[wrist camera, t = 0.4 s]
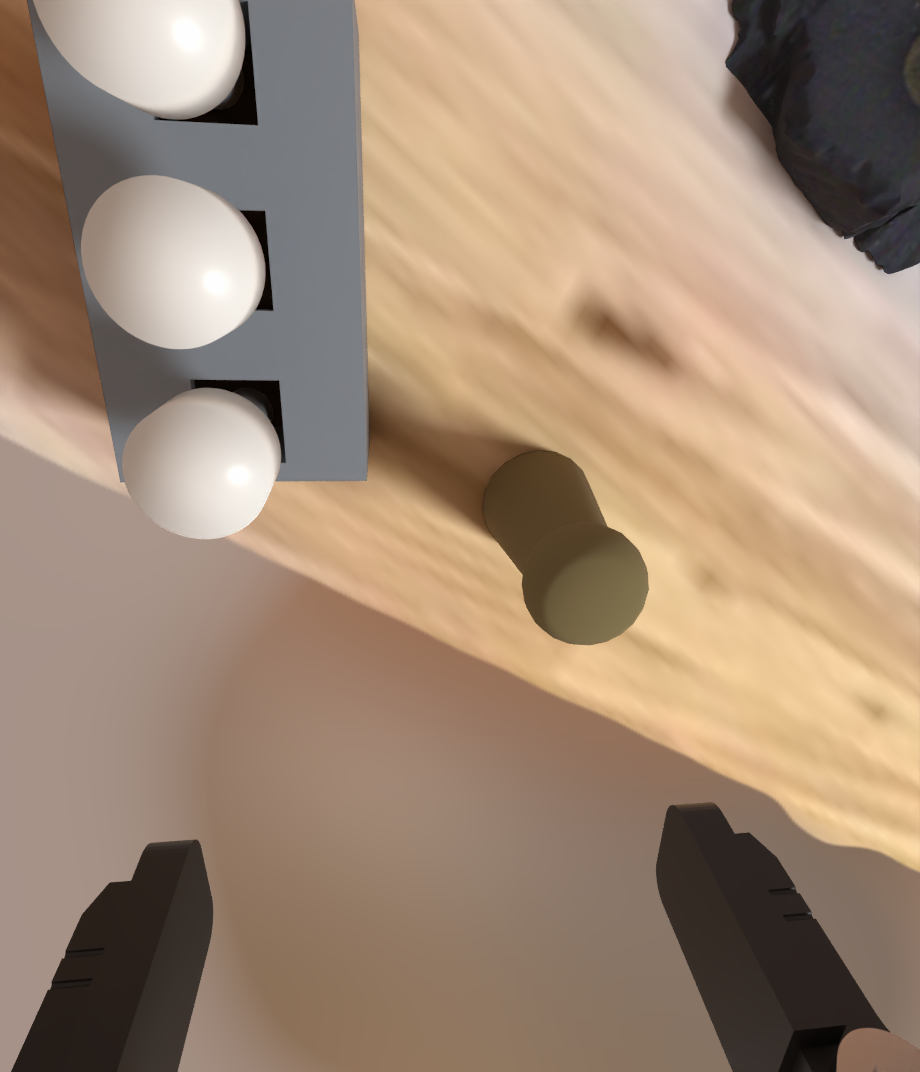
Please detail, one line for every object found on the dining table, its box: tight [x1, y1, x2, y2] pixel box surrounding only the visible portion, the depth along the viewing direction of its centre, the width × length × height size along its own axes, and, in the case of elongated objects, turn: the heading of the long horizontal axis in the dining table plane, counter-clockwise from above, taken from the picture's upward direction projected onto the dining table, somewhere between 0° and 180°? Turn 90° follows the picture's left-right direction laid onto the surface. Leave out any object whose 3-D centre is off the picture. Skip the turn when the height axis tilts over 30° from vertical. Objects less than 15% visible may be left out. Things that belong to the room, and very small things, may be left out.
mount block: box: [27, 0, 370, 482], centre depth 26 cm, size 17×10×6 cm, turn 178°
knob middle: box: [81, 175, 265, 349], centre depth 22 cm, size 4×4×8 cm
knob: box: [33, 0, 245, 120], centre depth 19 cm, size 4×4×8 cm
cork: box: [483, 451, 649, 645], centre depth 31 cm, size 6×6×11 cm
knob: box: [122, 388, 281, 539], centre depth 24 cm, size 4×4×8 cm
